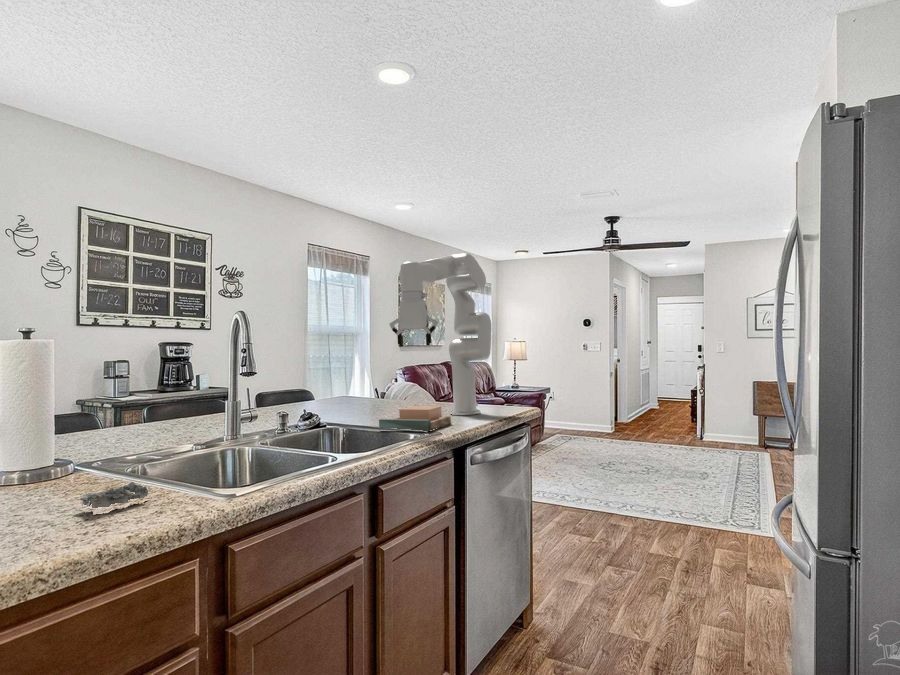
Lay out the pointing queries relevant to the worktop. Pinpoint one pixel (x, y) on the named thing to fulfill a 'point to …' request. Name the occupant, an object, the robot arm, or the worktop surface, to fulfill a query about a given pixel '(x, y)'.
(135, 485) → the grey rough flat piece
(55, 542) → the worktop surface
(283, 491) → the worktop surface
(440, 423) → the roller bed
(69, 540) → the worktop surface
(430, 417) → the clay slab
